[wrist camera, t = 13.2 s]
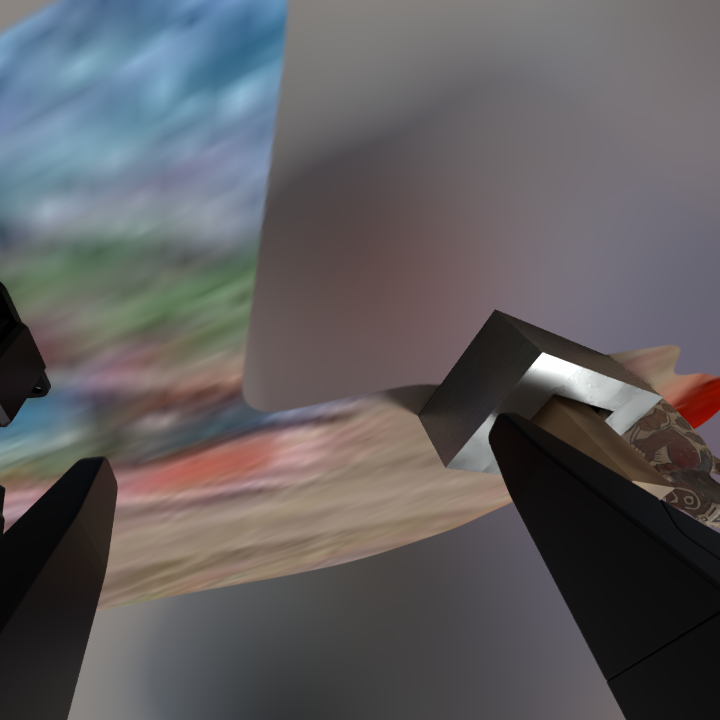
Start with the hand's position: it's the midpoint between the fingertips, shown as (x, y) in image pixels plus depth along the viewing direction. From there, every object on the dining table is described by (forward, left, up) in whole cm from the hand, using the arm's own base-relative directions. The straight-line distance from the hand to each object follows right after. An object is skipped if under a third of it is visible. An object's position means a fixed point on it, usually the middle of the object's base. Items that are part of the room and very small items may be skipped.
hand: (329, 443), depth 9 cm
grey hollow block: (+19, -11, -13) cm, 26 cm away
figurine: (+34, -16, -13) cm, 40 cm away
